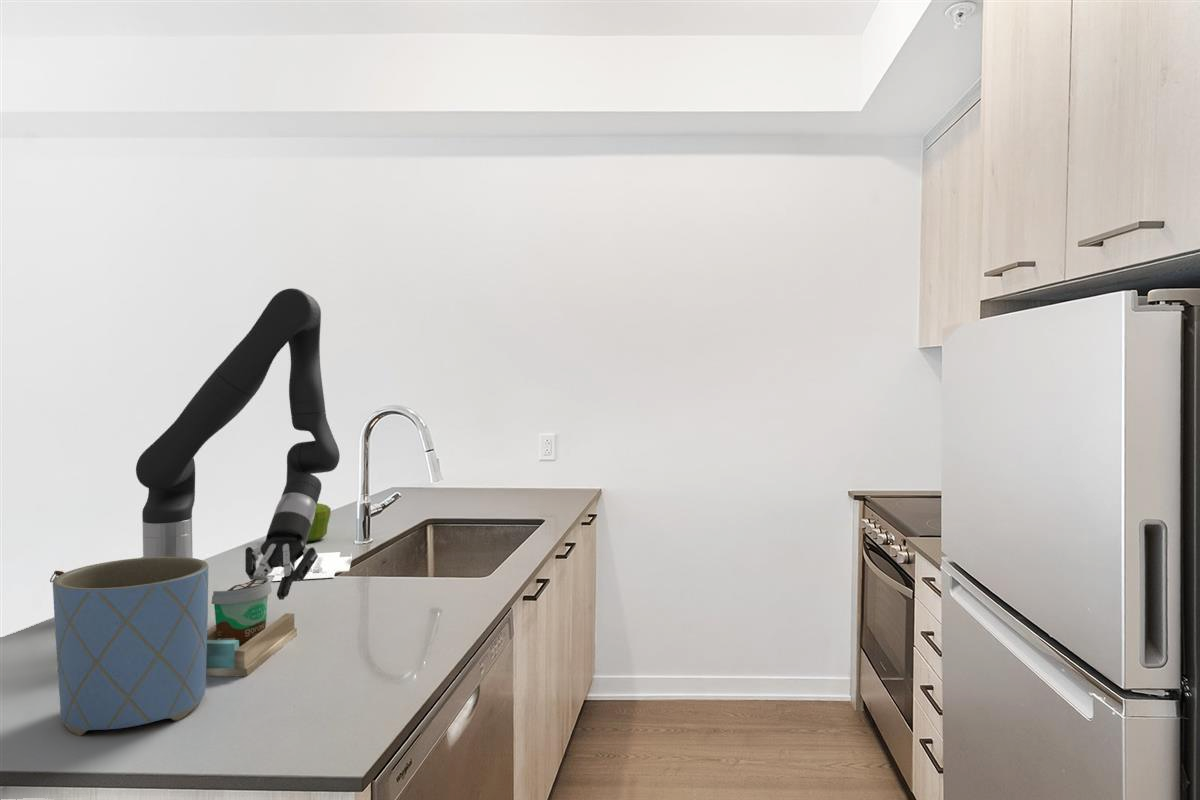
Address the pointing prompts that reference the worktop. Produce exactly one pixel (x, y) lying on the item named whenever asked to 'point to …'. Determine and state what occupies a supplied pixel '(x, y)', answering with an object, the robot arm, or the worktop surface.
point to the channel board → (247, 649)
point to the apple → (319, 522)
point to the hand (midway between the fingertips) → (267, 597)
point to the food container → (242, 610)
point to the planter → (131, 641)
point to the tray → (319, 566)
